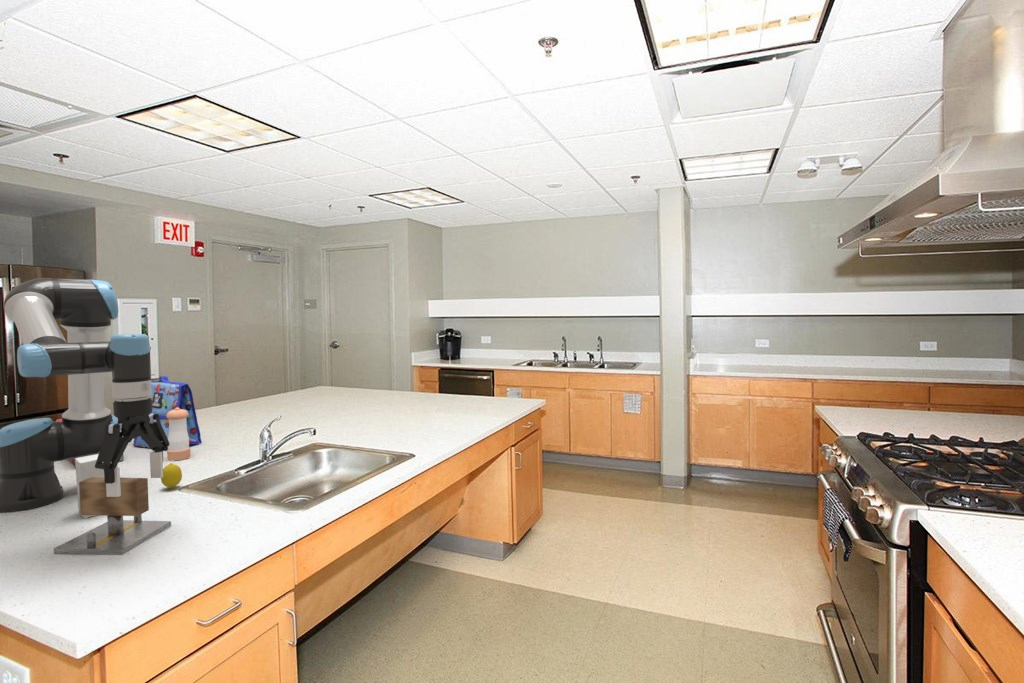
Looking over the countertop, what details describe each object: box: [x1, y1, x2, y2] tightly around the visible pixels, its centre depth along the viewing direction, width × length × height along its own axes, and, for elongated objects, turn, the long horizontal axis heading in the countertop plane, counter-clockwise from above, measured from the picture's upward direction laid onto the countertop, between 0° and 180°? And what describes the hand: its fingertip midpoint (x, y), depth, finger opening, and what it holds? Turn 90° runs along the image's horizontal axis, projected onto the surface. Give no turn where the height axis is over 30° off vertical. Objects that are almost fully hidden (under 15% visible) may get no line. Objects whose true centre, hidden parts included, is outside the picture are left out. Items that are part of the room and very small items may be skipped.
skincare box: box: [74, 454, 119, 519], centre depth 141 cm, size 8×7×16 cm
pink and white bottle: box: [166, 408, 191, 461], centre depth 192 cm, size 7×7×19 cm
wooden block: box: [79, 477, 150, 517], centre depth 124 cm, size 14×4×8 cm, turn 88°
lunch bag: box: [132, 375, 202, 450], centre depth 210 cm, size 22×14×29 cm, turn 73°
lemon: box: [160, 462, 183, 489], centre depth 160 cm, size 6×6×8 cm
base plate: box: [53, 514, 172, 556], centre depth 125 cm, size 16×16×6 cm
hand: (136, 486), depth 124 cm, fingers open, 13 cm apart
